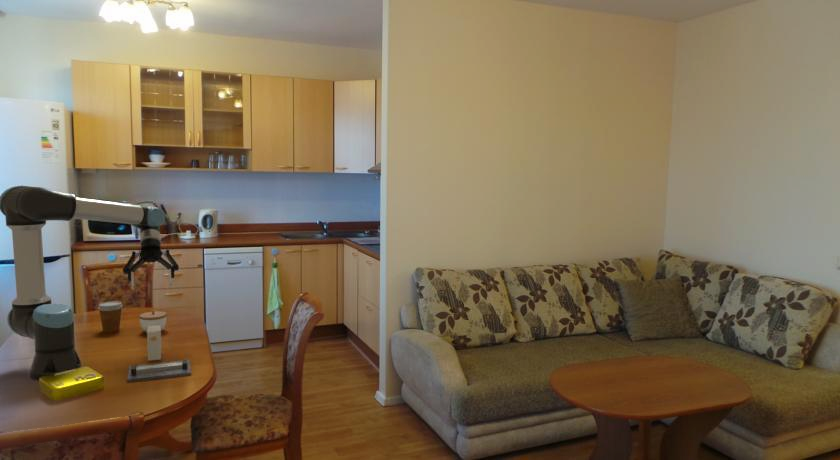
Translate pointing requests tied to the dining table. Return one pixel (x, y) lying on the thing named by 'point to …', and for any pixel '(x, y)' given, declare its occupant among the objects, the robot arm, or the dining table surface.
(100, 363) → the dining table surface
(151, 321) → the lidded jar
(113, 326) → the disposable coffee cup
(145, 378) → the mounting plate
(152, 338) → the block
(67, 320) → the robot arm
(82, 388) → the element tile
